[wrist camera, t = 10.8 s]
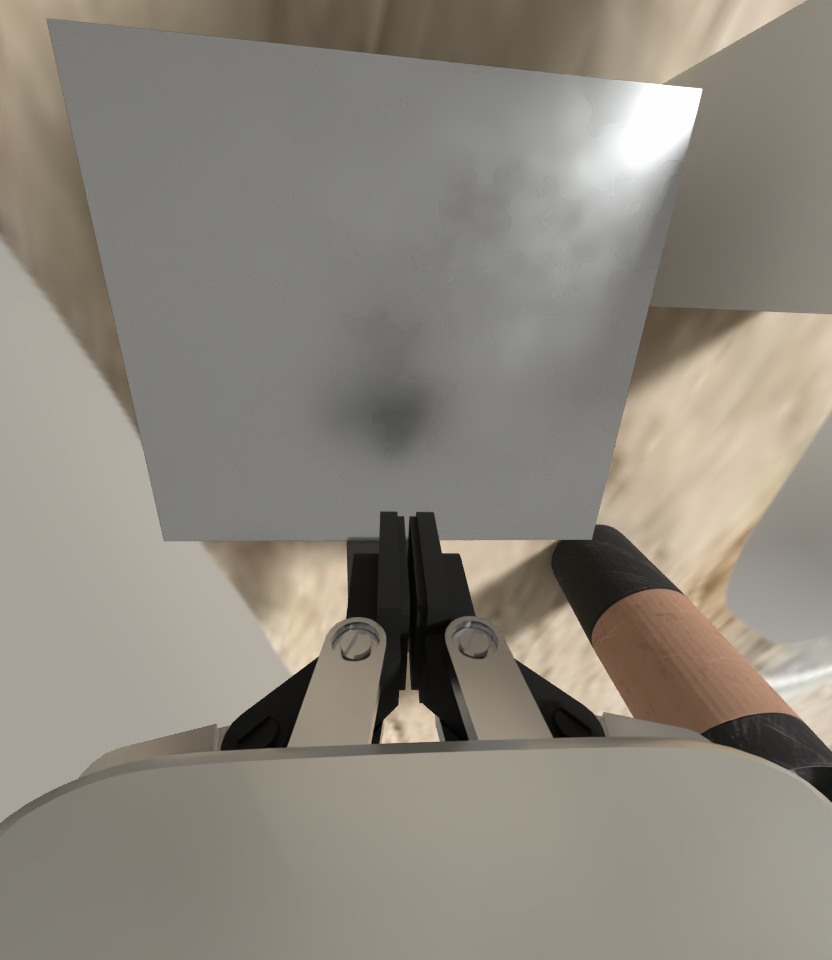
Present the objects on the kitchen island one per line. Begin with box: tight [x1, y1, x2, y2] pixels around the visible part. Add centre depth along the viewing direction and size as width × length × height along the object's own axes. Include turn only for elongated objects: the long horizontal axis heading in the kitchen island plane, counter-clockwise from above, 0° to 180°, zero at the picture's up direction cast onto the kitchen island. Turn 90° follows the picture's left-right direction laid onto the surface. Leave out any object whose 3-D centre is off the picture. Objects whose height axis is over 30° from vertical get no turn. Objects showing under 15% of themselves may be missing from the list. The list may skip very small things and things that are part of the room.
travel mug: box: [552, 525, 832, 802], centre depth 29 cm, size 8×8×20 cm
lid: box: [46, 18, 702, 652], centre depth 18 cm, size 21×25×2 cm
